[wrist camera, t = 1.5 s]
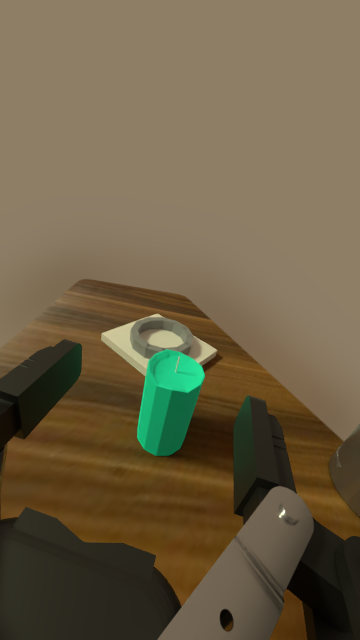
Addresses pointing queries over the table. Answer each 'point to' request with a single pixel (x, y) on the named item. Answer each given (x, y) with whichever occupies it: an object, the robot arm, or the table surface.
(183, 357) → the candle
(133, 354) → the jig plate
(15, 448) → the table surface
